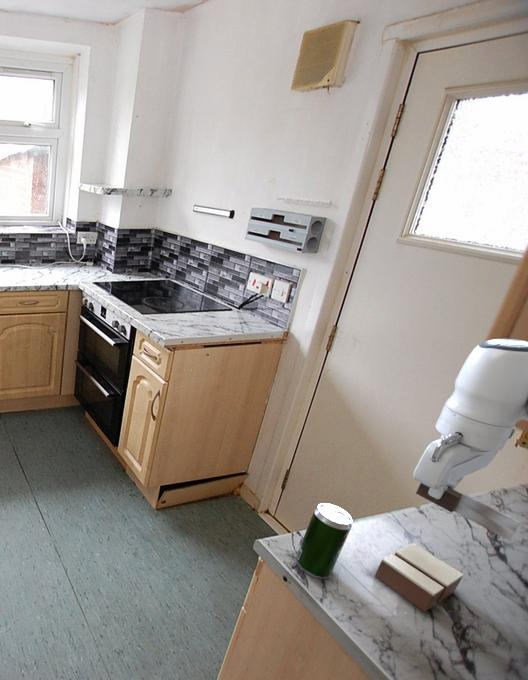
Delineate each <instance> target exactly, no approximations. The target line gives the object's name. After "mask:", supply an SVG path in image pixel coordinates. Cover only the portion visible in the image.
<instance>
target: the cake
mask: <svg viewBox="0 0 528 680" xmlns="http://www.w3.org/2000/svg"><path fill="white" fill-rule="evenodd" d="M394 555H395V556H397V557H398V558H400V559H401V560H403V561H404V562H406V563H407V564H409V565H410V566H412V567H414V568H415V569H417V570H418V571H420V572H421V573H423V574H424V575H426V576H427V577H429V578H430V579H432V580H433V581H435V582H436V583H438V584H439V585H441V586H442V587H444V589H443V591H442V593H441V594H440V596H439V598H438V600H437V601H436V603H437V604H439V603H440V602H442V601H443V600H445V599H446V598H448V597H449V596H451V595H452V594H453V593H455V591H456V589H457V588H458V586H459V584H460V583H461V580H462V579H463V577H464V574H463V573H462V572H460V571H458V570H457V569H455V568H454V567H452V566H450V565H449V564H447V563H446V562H444V561H442V560H441V559H439V558H438V557H436V556H435V555H433V554H431V553H430V552H428V551H426V550H425V549H423V548H421V547H420V546H418V545H417V544H415V543H413V542H412V543H409V544H408V545H406V546H404V547H402V548H400V549H398V550H396V552H395V553H394Z"/></svg>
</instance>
